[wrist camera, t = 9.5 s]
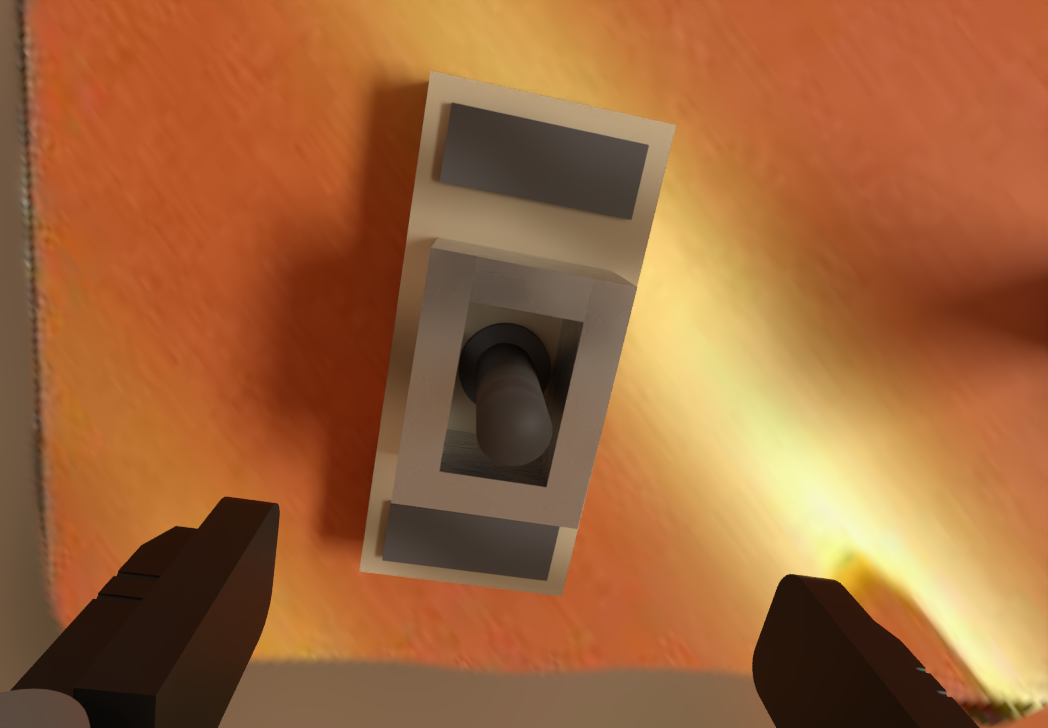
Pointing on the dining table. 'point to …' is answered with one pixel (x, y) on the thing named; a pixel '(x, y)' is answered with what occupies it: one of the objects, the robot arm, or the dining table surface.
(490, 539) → the beige holder base
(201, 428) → the dining table surface
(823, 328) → the dining table surface
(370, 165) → the dining table surface
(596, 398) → the link
